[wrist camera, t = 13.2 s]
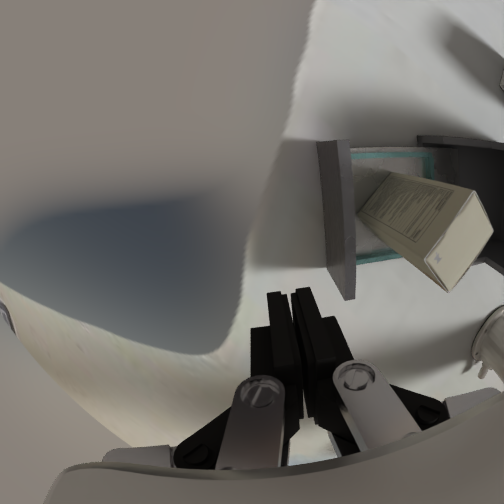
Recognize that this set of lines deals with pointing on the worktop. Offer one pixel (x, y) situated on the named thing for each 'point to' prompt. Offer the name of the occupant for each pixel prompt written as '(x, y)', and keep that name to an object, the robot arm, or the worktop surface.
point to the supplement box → (502, 81)
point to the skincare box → (429, 225)
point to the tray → (367, 198)
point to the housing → (480, 185)
